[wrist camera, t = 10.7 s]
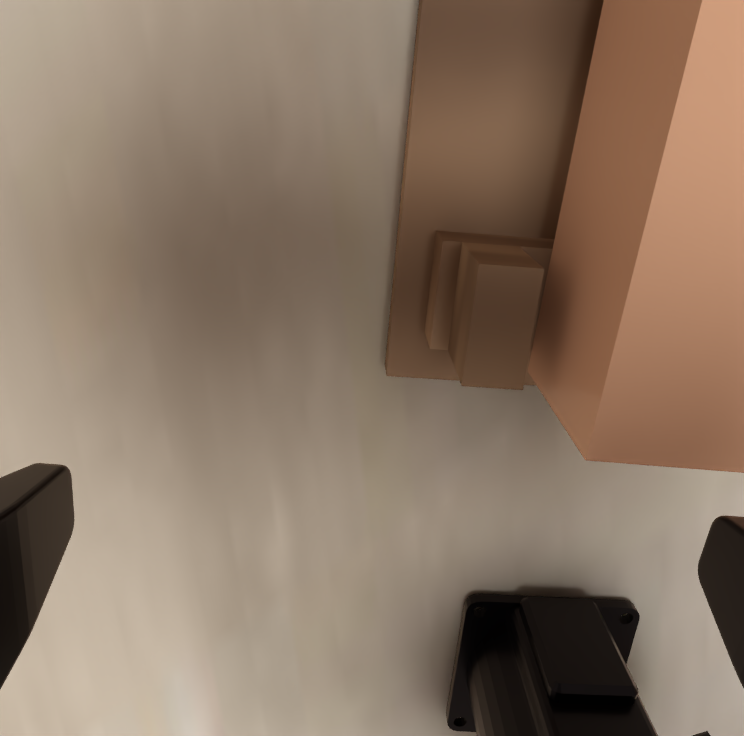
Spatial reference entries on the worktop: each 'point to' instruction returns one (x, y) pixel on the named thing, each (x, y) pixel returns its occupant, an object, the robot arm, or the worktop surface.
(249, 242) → the worktop surface
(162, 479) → the worktop surface
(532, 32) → the drying rack
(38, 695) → the worktop surface
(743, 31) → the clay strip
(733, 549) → the robot arm
